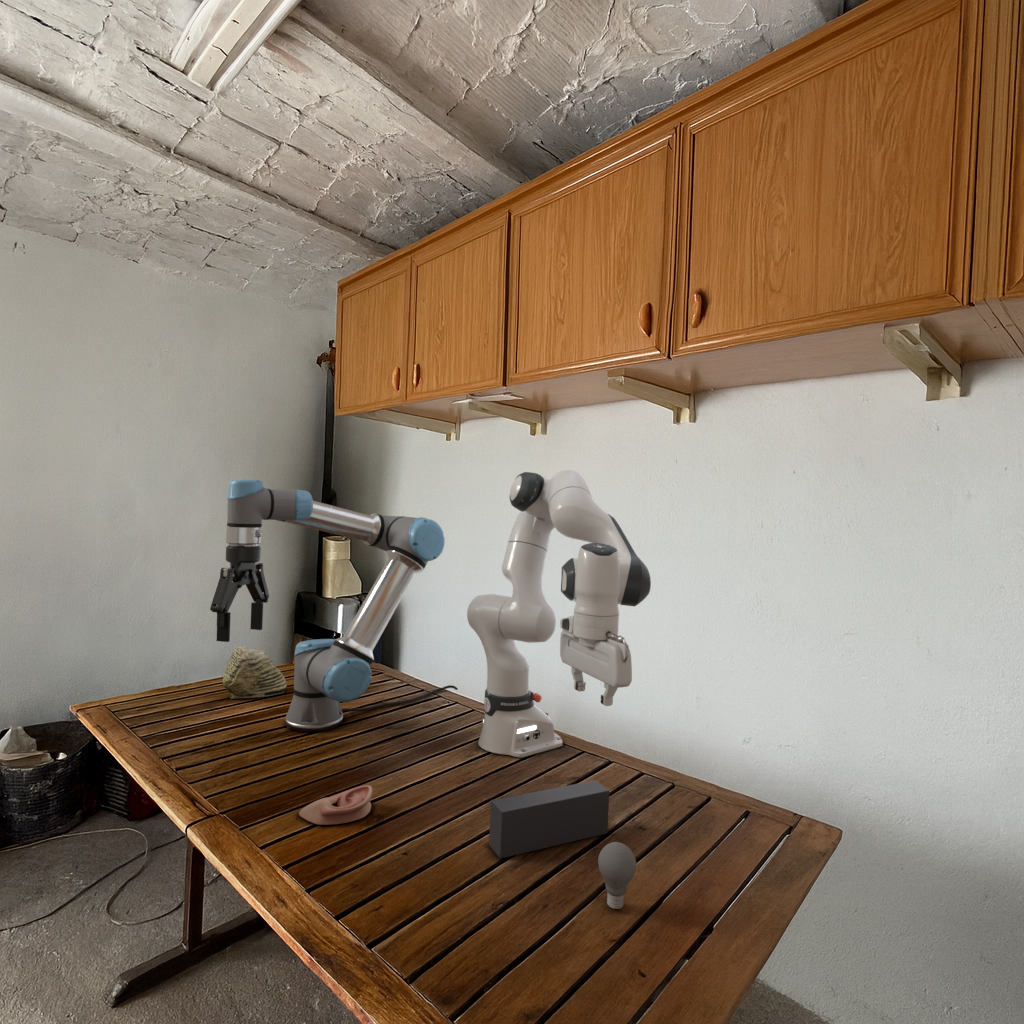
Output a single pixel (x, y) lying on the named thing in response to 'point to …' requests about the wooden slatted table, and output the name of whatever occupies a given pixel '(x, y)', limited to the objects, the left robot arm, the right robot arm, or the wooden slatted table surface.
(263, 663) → the fossil
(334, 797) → the anatomical model
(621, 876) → the light bulb
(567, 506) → the right robot arm
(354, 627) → the left robot arm
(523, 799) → the bar
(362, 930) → the wooden slatted table surface
